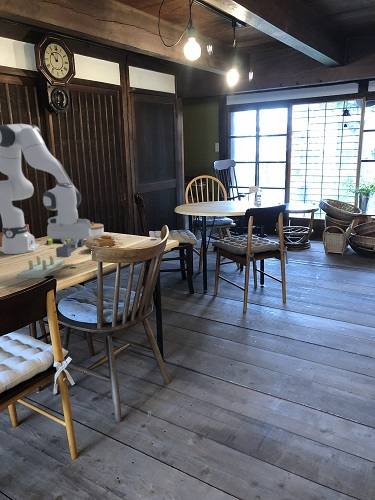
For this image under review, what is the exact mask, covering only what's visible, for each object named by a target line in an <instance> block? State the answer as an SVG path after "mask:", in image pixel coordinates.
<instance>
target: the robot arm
mask: <svg viewBox="0 0 375 500" xmlns="http://www.w3.org/2000/svg"><path fill="white" fill-rule="evenodd" d="M22 154H23V156H24V160H25V161H26V163H28V165H29V166H31V168H33V169H36V170H38V171H39V170H40V171H43V172H47V173H49V174H51V175H52V176H54V177H55V179H56V180H57V182H58V183H57V184H56V185H55V187H54V188H52V189H49V190H46V191H45V192H44V193H43V195H42V205H43V206H44V207H45V209H47V210H49V211H57V215H55V216H53V217H50V218H48V219H47V223H48V225H47V229H46V230H47V231H46V235H47V237H48V239H49V238H50V239H61V241H62V243H63V245H65V244H66V242H65V240H66V239H75V241H76V242H75V244H73V248H77V243H78V241H79V239H84V240H87V239H89V238H90V237H91V236H92V234H91V228H90V227H91V224H92V222H91V221H90V220H89V219H88V218H79V213H78V209H77V208H78V207H79V206H80V204H81V202H82V194H81V193H80V191H79V190H78V189H77V187H76V186H75V185H74V184H73V181H72V179H71V178H70V176H69V175H68V173H67V172H66V170H65V168H64V167H63V165H62V163H61V161H60V160H59V159H57V158H55V157H54V156H53V155H52V153H51V152H50V151H49V149H48V147H47V146H46V143H45V141H44V139H43V137H42V132H41V130H40V128H39V127H38V126H37V125H34V124H31V123H29V124H26V123H14V124H13V123H12V124H11V123H10V124H0V172H1V173H2V174H4V175H6V176H7V177H8V179H7V180H5V179H4V180H0V217H1V222H2V229H1V230H2V234H3V235H2V236H1V247H2V248H1V249H0V252H2V253H3V254H4V255H5V254H6V255H19V254H25V253H30V252H35V250H37V249H38V248H40V245H41V244H40V243H38V242H36V238H35V236H34V235H33V234H31V233H30V232H29V231H28V229H29V228H30V227H29V226H30V225H29V224H25V223H26V222H25V217H24V216H25V214H24V211H23V210H22V209H21V208H19V207H16V206H14V205H13V201H22V200H25V199H28V198H31V197H32V196H33V194H34V190H35V189H34V188H35V187H34V186H33V183H32V182H31V181H30V180H29V179H27V178H26V177H25V175H24V173H23V170H22Z"/></svg>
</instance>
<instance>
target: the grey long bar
mask: <svg viewBox="0 0 375 500" xmlns="http://www.w3.org/2000/svg"><path fill="white" fill-rule="evenodd" d="M84 240H85V239H79V241H78V243H77V248H73V244H75V242H76V241H75V239H71V241H70V242H68V243H66V244H65V245H64V244H63V245H61V246H58V247H56V248H55V253H56V255H55V256H56V258H69V257H70V256H72V253H73V252H75V251H77V250H78V249H80V248H83V247H84V246H85V244H84V243H85V241H84Z"/></svg>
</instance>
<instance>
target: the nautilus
mask: <svg viewBox="0 0 375 500" xmlns="http://www.w3.org/2000/svg"><path fill="white" fill-rule="evenodd" d="M120 238H121V237H120V236H119V237H116V236H112V235H106V234H103V235H96V236H94V237H91V238H89V239H86V241H84V246H85V247H86V248H87V249H91V248H92V245H99V246H109V247H111V248H112V247H117V248H121V246H124V247H125V245H124V243H122V242H120V241H121V240H122V239H120ZM116 240H117V241H118V243H116ZM119 240H120V241H119ZM91 250H92V249H91Z"/></svg>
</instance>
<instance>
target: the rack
mask: <svg viewBox="0 0 375 500" xmlns="http://www.w3.org/2000/svg"><path fill="white" fill-rule="evenodd" d="M65 263H66V262H65V259H54V255H49V259H41V255H36V262H35V263H33V260H32V259H30V260H28V267H27V268H25V269H23V270H21V271H20V272H18V273H17V274H16V278H17V279H18V278H19V279H21V278H22V279H23V278H24V279H25V278H27V279H34V278H35V279H44V278H45V277H47V276H48V275H49V274H51V273H52V272H54V271H55V270H56V269H58V268H59V267H61V266H62V265H63V264H65Z"/></svg>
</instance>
